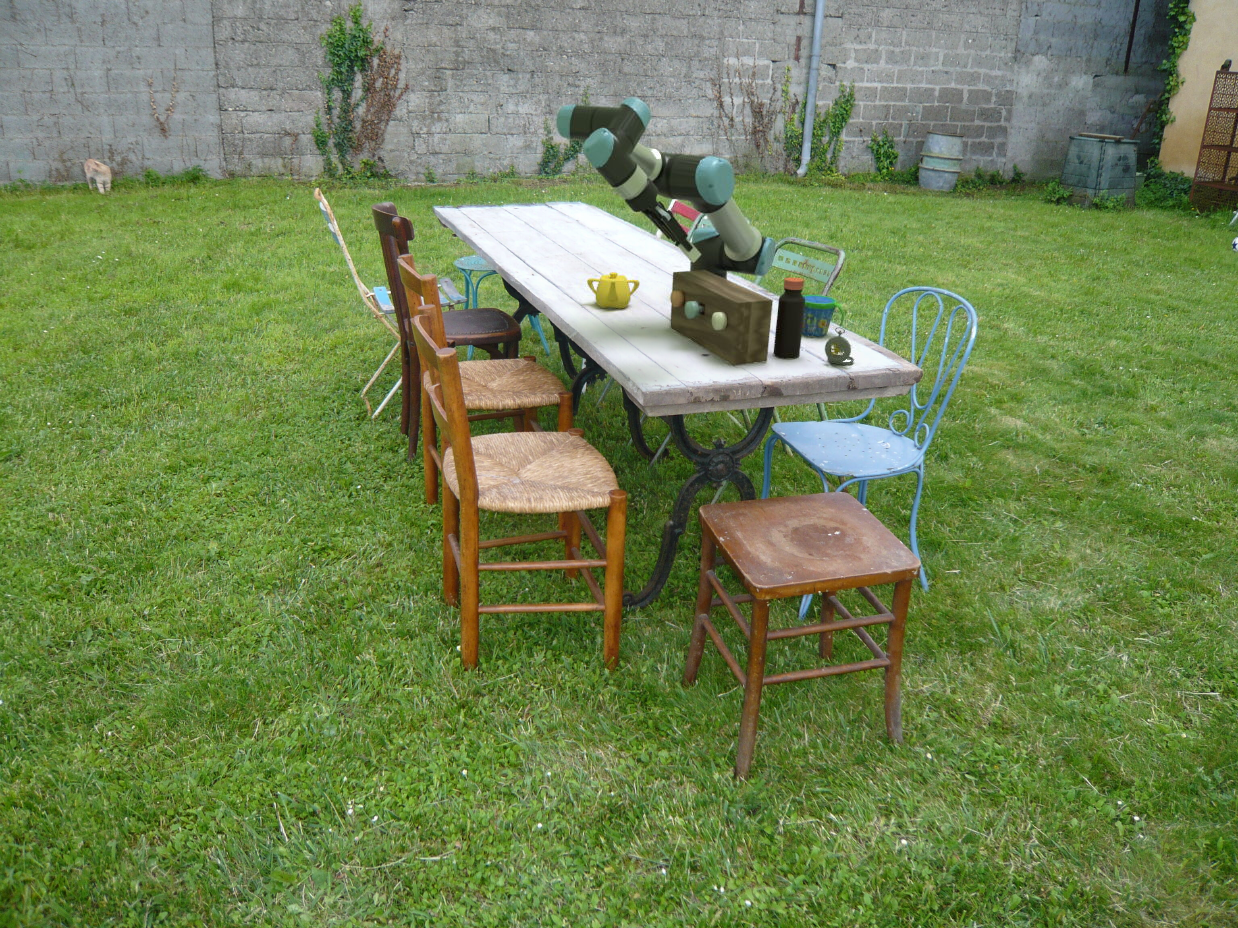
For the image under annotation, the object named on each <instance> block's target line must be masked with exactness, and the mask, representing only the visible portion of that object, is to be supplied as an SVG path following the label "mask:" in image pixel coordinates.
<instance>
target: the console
mask: <svg viewBox="0 0 1238 928" xmlns="http://www.w3.org/2000/svg"><path fill="white" fill-rule="evenodd" d="M671 286H672V288H671V292H672V291H679V290H681V291H682V292H683V295H684V304H683V306H682V307H673V306H672V304H671V303H670V304H671V306H670V308H671V309H670V326H669V329H671V330H673V331H674V332H676V333H678V334H679V335H681V336H683V338H684V337H685V338H686V339H688V340H689V339H690V341H691V342H693V343H695V344H697V345H698V346H699V347H701V348H702V349H704V350H706V351H708V352H710V353H711V354H713V355H715V356H716V357H717V358H720V359H721V360H722V361H725V362H726V363H728V364H730V365H732V366H738V365H739V366H741V365H747V364H755V363H754V362H758V363H764V362H763V361H767V362H768V354H769V352H768V351H769V343H770V331H771V325H772V324H771V323H772V313H773V302H774V300H773V299H772V298H769V297H767V296H765V295H763V294H760V293H758V292H755V291H754V290H751V289H748V288H747V287H744V286H742V285H741V284H737V283H735V282H733V281H730V280H728V279H727V280H726V279H724V278H722V277H720V276H717V275H715V274H713V273H711V272H708V271H706V270H697V271H690V270H686V271H684V270H683V271H673V272H672V285H671ZM690 301H696V302H697V303H698V306H705V312H699V315H698V317H697V318H690V319H688V318H687V317H686V315H685V304H686V302H690ZM715 312H724V313H725V314H726V317H727V326H726V328H725V329H723V330H715V329H714V328H713V325H712V316H713V314H714V313H715Z"/></svg>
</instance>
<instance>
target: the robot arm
mask: <svg viewBox="0 0 1238 928" xmlns="http://www.w3.org/2000/svg"><path fill="white" fill-rule="evenodd" d="M651 119H652V114H651V110H650V107H649V106H648V105H647V104H646V103H645V102H644V101H643V100H641V99H640V98H638V97H629V98H626V99H624V100H623V102H621V104H620V106H619V107H617V106H616V107H615V106H599V105H598V106H597V105H586V104H585V105H584V104H583V105H582V104H577V103H576V104H566V105H563V106H562V107H560V109H559V110H558V111H557V117H556V122H555V123H556V129H557V132H558V134H559V135H560V136H561V137H562V138H564V139H568V140H577V141H580V142H582V143H583V145H582V149H581V150H582V151H581V152H582V153H583V155H584V156H585V158H586V160H588V162H589V163H590V165H591V166H592V167H593V168H594V169H595V170H596V171H597V172H598V173H599V174H600V175H601V177H602V178H603V179H604V180H605V181H606V182H607V183H608V184H609V185H610V186H611V187H612V188H613V189H614V190H615V191H614V195H616V196H618V195H619V197H621V199H622V200H624V202H625V203H626V204H627V205H628V207H629V208H630V209H631V210H632V211H633V212H634V213H642V214H643V215H645V217H647V218H648V219H649V221H651V223H652V224H654V226H656V228H657V229H658V230H659V231H660V232H661V233H662V234H663V235H664V236H665V237H666V239H667V240H670V241H671V242H672V243H674V246H675V247H677V248H678V249H679V250H680V251H681V252H682V253H683V254H684V255H685V257H687V259H688V260H689V261H690V262H689V263H690V265H689V266H690V267H689V268H690V269H689V271H697V270H706V271H708V272H711V273H713V274H715V275H717V276H720V277H722V278H724V279H726V280H728V272H732V273H739V274H743V275H744V274H745V275H751V276H754V277H756V276H758V277H763V276H767V274H768V273H769V272H770V270H771V268H772V266H773V263H774V260H775V259H774V258H775V256H776V255H775V254H776V242H775V241H776V240H775V239H774V238H773V237H769V236H763V235H762V233H761V232H760V230H759V229H758V228H757V227H755V226H754V225H750V224H749V222H748V220H747V219H746V217H745V215H744V213H742V211H741V209H740V208H739V206H738V204H737V202H736V201H735V199H734V198H733V194H734V191H735V188H736V187H735V184H736V178H734V176H735V171H734V169H733V166H732V164H731V163H730V162H729V161H728V160H726V159H724V158H721V157H717V156H712V155H711V156H710V155H709V156H703V155H695V154H694V155H693V154H679V153H670V152H669V153H668V152H663V151H658V150H657V149H656V148H653V147H647V146H644V145H643V144H641V143H640V142H639V141H640V140H641V138H642V136H643V135H644V133H645V132H646V130H647V127H648V125H649V123H650V121H651ZM658 196H660V197H663V198H665V199H669V200H675V201H676V200H677V201H686V202H689V203H690V204H691V205H692V207H693V208H694V209H695V210H696V211H697V212H698V213H700V214H704V215H705V216H706V217H707V219H708V221H710V223H711V225H710V226H709V225H708V226H703V227H698V228H696V229H694V230H693V232H692V235H691V240H690V239H689V235H688V233H687V232H686V231H685V230H684V228H683V227H682V226H681V224H680V223H679V222H678V220H677V219H676V218H675V216H674V214H673V212H672V210H670V209H666V208H665V205H664V204H663V202H662V201H659V200H658V201H657V198H658Z"/></svg>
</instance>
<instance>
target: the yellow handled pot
mask: <svg viewBox="0 0 1238 928" xmlns="http://www.w3.org/2000/svg"><path fill="white" fill-rule="evenodd" d="M586 282H587V285H588V287H589V289H590V290H591V291H592V293H593V294H594V295H595V301H596V303H597V306H599V307H601V309H609V308H615V309H616V308H617V309H619V310H623V309H624V308H626V307H627V306H629V303H630V302H631V297H632V295H633V294H634V293H635V292H636V291H637V290H638V288H639V286H640V283H641V282H640V280H638V279H627V277H626V276H625V275H623V274H622V275H621V274H619V273H618V272H615V271H614V272H612V271H611V272H609V274H602V275H601V277H600V278H591V277H590V278H587V281H586ZM594 282H597V286H596V289H595V287H594V285H593V284H594ZM631 283H633V287H632V289H630V284H631Z"/></svg>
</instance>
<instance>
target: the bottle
mask: <svg viewBox="0 0 1238 928" xmlns="http://www.w3.org/2000/svg"><path fill="white" fill-rule="evenodd" d="M804 285H805V280H804V279H803V278H800V277H794V276H793V277H785V278H784V280H783V290H784V293H782V294H781V295H780V296H779V297H778V303H777V304H778V305H777V315H776V324H775V334H774V345H773V355H774V356H775V357H777V358H780V359H786V358H793V359H796V358H799V357H800V352H801V343H802V335H803V334H802V327H803V318H804V309H805V298H804V297H803V294H802V292H803V291H804V290H803V289H804Z"/></svg>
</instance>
